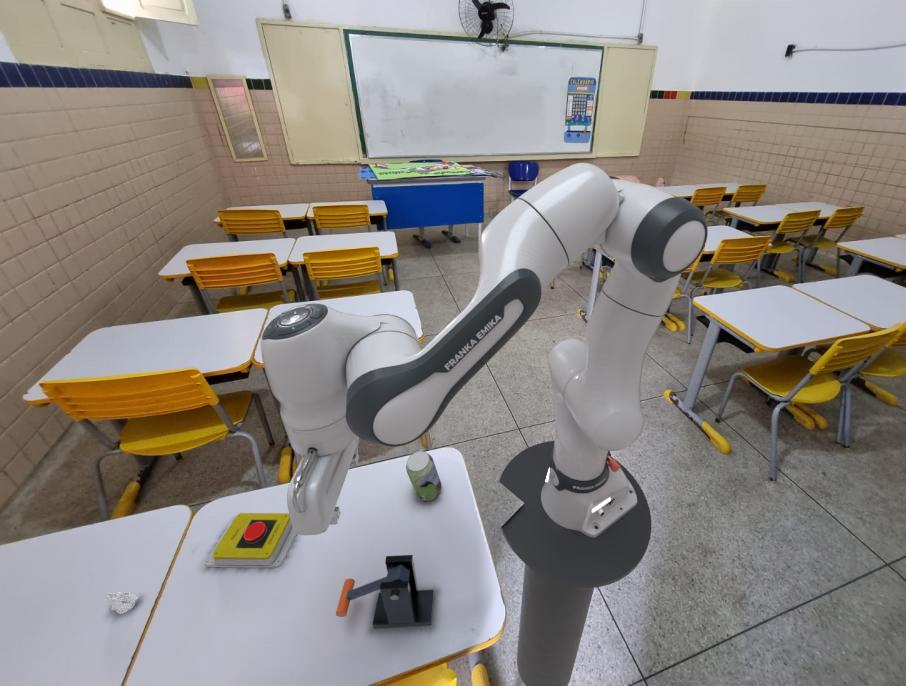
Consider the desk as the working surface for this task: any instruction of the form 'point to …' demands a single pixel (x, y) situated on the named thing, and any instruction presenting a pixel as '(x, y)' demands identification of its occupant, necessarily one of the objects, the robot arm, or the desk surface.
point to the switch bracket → (403, 599)
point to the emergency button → (254, 541)
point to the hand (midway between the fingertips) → (343, 489)
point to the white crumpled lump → (118, 600)
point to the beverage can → (423, 475)
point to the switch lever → (368, 588)
